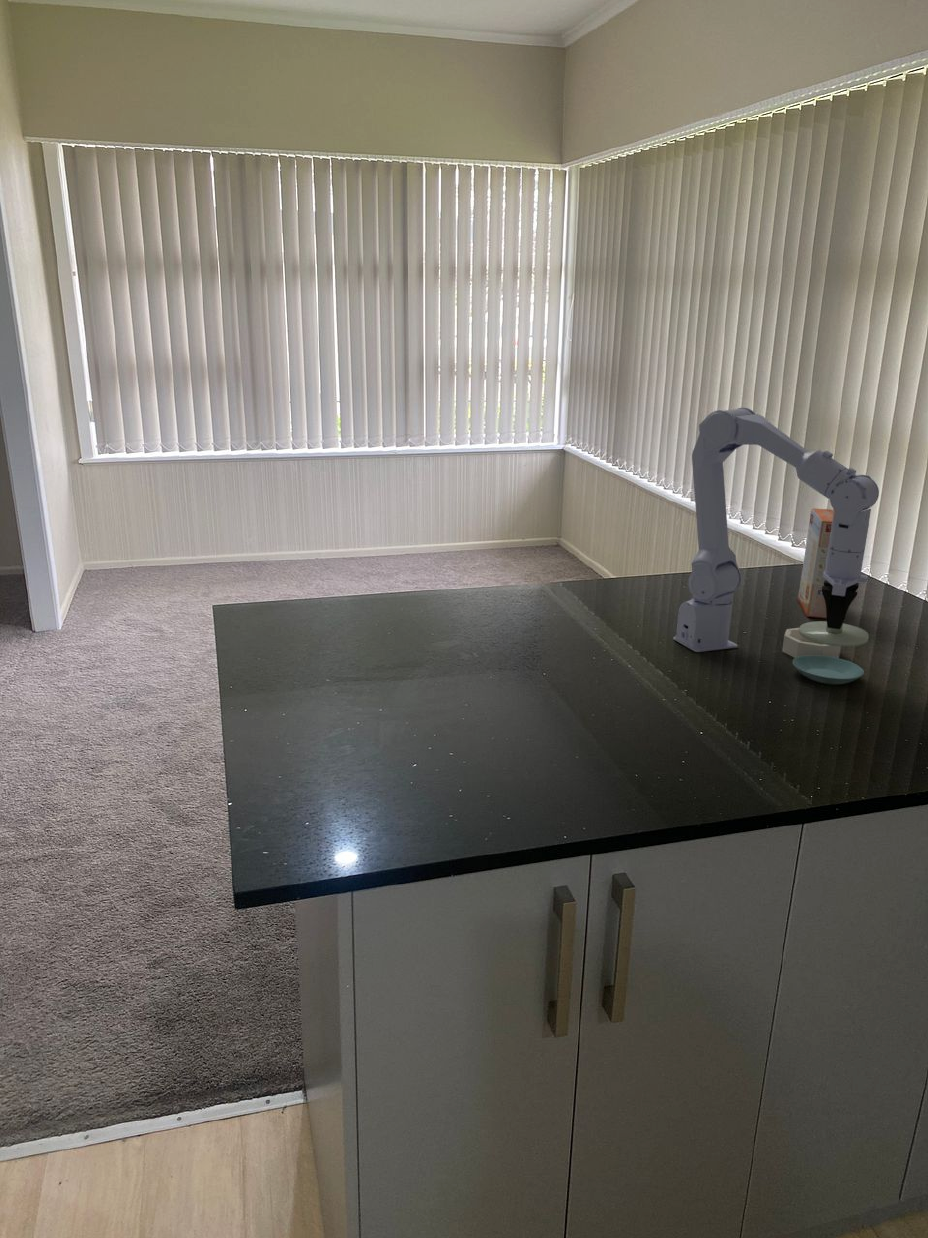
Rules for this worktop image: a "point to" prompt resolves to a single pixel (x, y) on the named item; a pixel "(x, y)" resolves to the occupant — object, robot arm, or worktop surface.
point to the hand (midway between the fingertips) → (834, 625)
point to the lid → (833, 634)
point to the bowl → (806, 646)
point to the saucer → (827, 669)
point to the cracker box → (815, 563)
